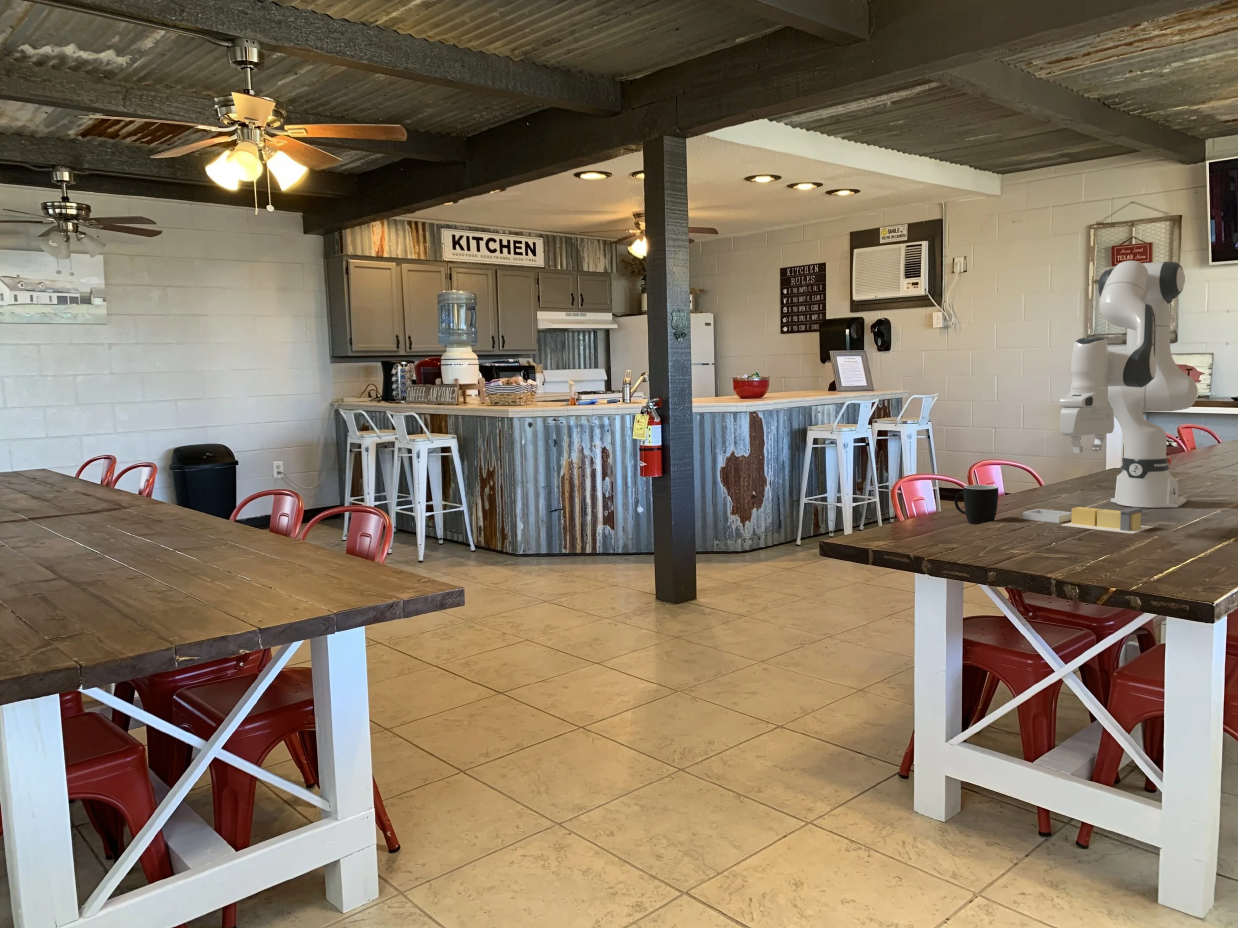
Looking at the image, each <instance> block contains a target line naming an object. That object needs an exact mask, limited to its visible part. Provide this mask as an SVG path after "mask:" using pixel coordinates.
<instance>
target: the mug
mask: <svg viewBox="0 0 1238 928" xmlns="http://www.w3.org/2000/svg"><path fill="white" fill-rule="evenodd" d="M961 495H963V502H964V503H963V504H964V510H963V509H961V508H960V506H959V502H958V501H959V497H960V496H961ZM998 503H999V486H997V485H989V484H970V485H969V484H968V485H964V486H963V490H962V491H960V492H959V493H957V495H956V496H955V497H954V506H955V508H956V510H957V511H958V512H959V513H961V514H963V515H965V517H966V520H967V522H968V524H972V525H982V524H986V523H990V522H995V519H996V515H997V510H998Z"/></svg>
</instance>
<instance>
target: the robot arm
mask: <svg viewBox="0 0 1238 928" xmlns="http://www.w3.org/2000/svg"><path fill="white" fill-rule="evenodd" d="M1185 281H1186V275H1185V272H1184V269H1183V266H1182V265H1181V264H1180V263H1178V262H1176V261H1164V262H1144V263H1142V262H1140V261H1137V260H1125V261H1122V262H1119V263H1118V264H1117V265H1115V266H1114V267H1112V268H1109V269H1106V270H1104V272H1102V273H1101V275H1100V276H1099V278H1098V284H1097V291H1098V295H1099V297H1100V298H1099V303H1098V310H1099V312H1100V315H1101V316H1102V318H1104V319H1105V320H1106V321H1107V322H1108V323H1110V324H1112V325H1113V326H1115V327H1120V328H1126V348H1125V349H1111V350H1109V349H1108V343H1107V339H1106V338H1105V337H1102V336H1087V337H1082V338H1078V339H1076V340H1075V341H1074V343H1073V346H1072V350H1071V357H1070V358H1071V359H1070V375H1071V384H1070V387H1069V392H1068V393H1067V394H1066V395H1064V396H1063V397H1061V398H1059V407H1061V410H1060V417H1059V422H1060V423H1059V426H1060V427H1059V428H1060V433H1061V434H1062V436H1063V437H1070V438H1069V439H1070V443H1071V445H1072V452H1073V453H1074V454H1082V453H1083V448H1084V447H1083V446H1082V444H1081V440H1082V436H1092V435H1094V436H1093V437H1094V438H1095V439H1094V441H1093V444H1092V451H1093V452H1101V451H1103V443H1104V441H1105V439H1106V434H1112V433H1113V432H1114V429H1115V419H1116V421H1117V422H1118V424H1119V425H1120V429H1121V432H1122V439H1123V457H1122V458H1121V470H1122V471H1121V472H1120V473H1119V474H1118V475H1117V476H1116V485H1115V493H1114V497H1111V498H1110V502H1111V503H1114V504H1117V505H1119V506H1126V507H1131V508H1132V507H1135V508H1150V509H1151V508H1180V507H1181V506H1182V505H1184V504H1185V503H1186V502H1188V501H1187V500H1188V499H1187V498H1186V497H1181V496H1179V484H1178V483H1179V482H1178V481H1177V480H1176V479H1175V478H1174V477H1173V475H1172V474H1171V473H1170V471H1169V469H1170V466H1171V465H1172V462H1173V461H1172V457H1167V443H1168V442H1167V441H1168V440H1167V439H1168V438H1167V433H1166V431H1165V430H1164V429H1163V428H1162V427H1161V426H1159V425H1157V424H1155V423H1152V422H1150V421H1148V420H1146V419H1145V417H1144V415H1143V413H1146V412H1177V411H1182V410H1187V409H1190V408H1191V407H1192V406H1193V405H1195V402H1196V400H1197V398H1198V394H1199V389H1198V385H1197V383H1196V382H1195V380H1194V378H1192V377H1191V376H1189V375H1188V374H1186V373H1185V372H1183V370H1181V368H1180V367H1178V365H1177V364H1176V362H1175V360H1174V358H1173V355H1172V350H1171V337H1170V335H1171V333H1170V332H1171V315H1170V314H1171V313H1170V306H1169V304H1171V303H1172V302H1173V300H1174V299H1176V298H1178V297H1179V295H1180V294H1181V293H1182V292H1183V290H1184V286H1185Z"/></svg>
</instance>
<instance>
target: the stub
mask: <svg viewBox="0 0 1238 928" xmlns="http://www.w3.org/2000/svg"><path fill="white" fill-rule="evenodd" d="M1100 510H1103V509H1102V508H1094V507H1085V506H1077V507H1072V508H1071V512H1072V517H1071V520H1070V521H1071V524H1080V525H1089V526H1097V511H1100Z"/></svg>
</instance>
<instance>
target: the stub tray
mask: <svg viewBox="0 0 1238 928" xmlns="http://www.w3.org/2000/svg"><path fill="white" fill-rule="evenodd" d="M1071 517H1072V511H1063V510H1056V509H1055V510H1053V509H1045V508H1044V509H1042V508H1036V509H1032V510H1027V511H1023V512H1022V520H1028V521H1029V520H1031V521H1039V522H1048V523H1057V524H1059V523H1064V522H1067V521H1071Z"/></svg>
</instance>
